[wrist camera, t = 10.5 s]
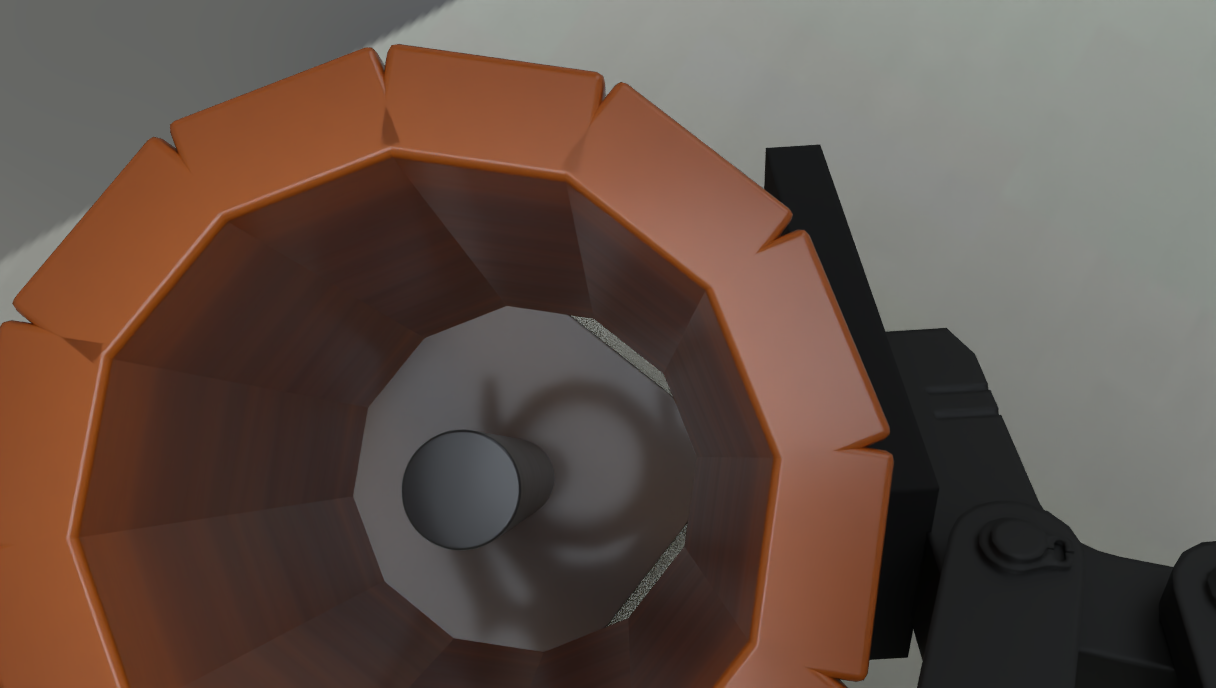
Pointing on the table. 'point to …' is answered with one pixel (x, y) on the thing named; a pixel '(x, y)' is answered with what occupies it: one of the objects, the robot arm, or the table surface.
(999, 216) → the table surface
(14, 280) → the table surface
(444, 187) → the orange hollow cylinder
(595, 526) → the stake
